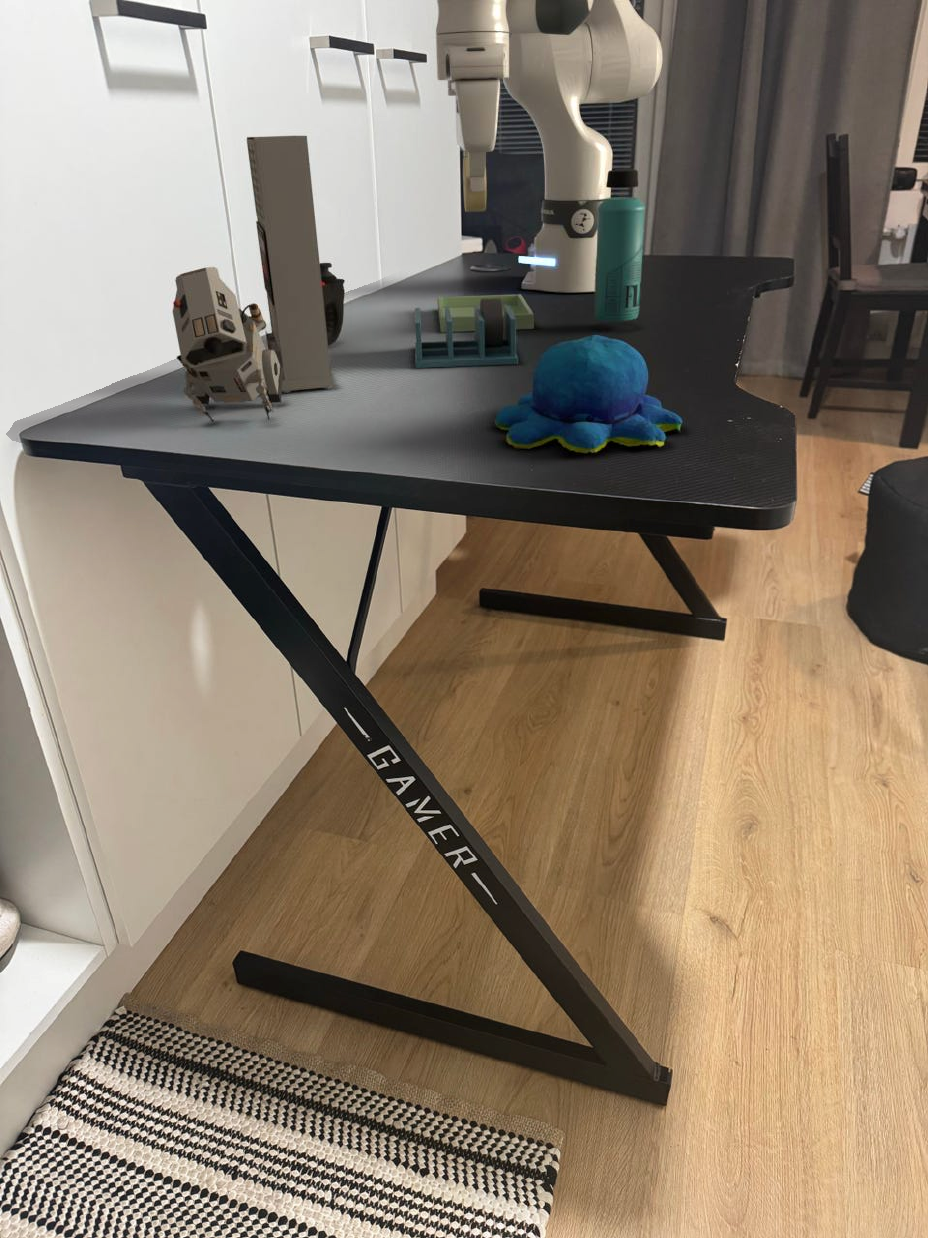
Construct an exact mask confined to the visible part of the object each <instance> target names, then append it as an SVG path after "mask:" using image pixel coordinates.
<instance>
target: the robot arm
mask: <svg viewBox="0 0 928 1238" xmlns="http://www.w3.org/2000/svg"><path fill="white" fill-rule="evenodd" d="M436 4H437V12H438V13H437V14H438V15H437V23H436V26H435V27H436V28H435V51H436V53H435V54H436V78H437V81H447V96H449V97H454V99H455V140H456V144H457V145H458V146H459V147H460V148H461V149H462V151H463V158H464V157H468V161H469V175H470V176H469V182H470V190H471V191H472V192H482V191H483V190H484V175H485V166H486V163H487V153H490V152H493V151H494V149H495V145H496V140H497V133H498V121H499V120H498V119H499V107H500V93H501V81H500V80H502V82H503V85H504V87H505V89H506V91H507V93H508V94H509V96H510V97H511V98H512V99H513V100H514V101H516V103H518V104H519V105H520V106H521V107H522V108H523V109H524V110H525V111H526V112H527V114H528V115H529V117H530V118H531V120H532V122H533V123H534V125H535V127H536V130H537V132H538V134H539V138H540V141H541V145H542V151H543V163H544V164H543V165H544V199H543V200H542V203H541V208H540V209H541V212H540V213H541V222H542V226H541V229H540V230H539V232H538V233H537V234H536V236H535V237H534V238H533V243H530V246H529V247H527V256H522V255H521V256H520V255H519V256H518V263H519V264H520V263H521V264H527V265H528V264H529V269H530V271H528V272H527V273H526V275H525V276H524V278H523V280H522V282H521V287H520V289H522V290H531V291H534V290H535V291H541V292H553V293H592V292H593V293H595V289H594V288H595V278H594V277H595V276H594V275H595V274H594V271H595V272H596V270H595V269H596V254H597V228H598V207H599V206H600V204H601V203H602V202H603V201H604V200H605V199H607V198H612V197H611V195H612V188H608V187H606V184H607V178H608V172H609V171H611V170H613V156H614V155H613V149H612V146H611V144H610V142H609V140H608V139H607V138H606V137H605V136H604V135H602V134H601V133H600V132H598V131H596V130H595V129H593V128H592V127H589V126H587V125H586V124H585V123H584V121H583V119H582V117H581V112H580V105H582V104H583V105H585V104H619V103H624V102H627V101H632V100H635V99H639V98H643V97H645V96H647V95H648V94H649V93H651V91H652V90H653V88H654V87H655V86H656V83H657V82H658V81H659V77H660V75H661V72H662V68H663V47H662V43H661V40H660V38H659V36H658V34H657V33H656V31H655V29H653V27H652V26H650V25H649V24H648V23H646V22H645V21H644V19H642V17H641V16H640V15H639V13H638V11H636V9H635V8H634V6H633V5H632V3H631V1H630V0H436Z"/></svg>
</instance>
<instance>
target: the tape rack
mask: <svg viewBox="0 0 928 1238" xmlns="http://www.w3.org/2000/svg"><path fill="white" fill-rule="evenodd" d="M474 324H475V331H474V339H471V340H469V339H468V340H454V332H453V331H452V318H451V313H450V308H449V307H445V331H446V332H445V340H444V341H422V328H421V327H422V324H421V308H420V307H415V308H414V327H415V329H414V330H415V343H414V344H415V345H414V346H415V347H414V348H415V355H414V356H415V369H430V368H431V369H432V368H453V367H480V366H481V367H482V366H483V367H484V366H504V365H518V364H519V357H518V355H517V329H516V319H515V317H514V315H513V313H512V311H511V309H510V307H509V306H508V305H504V330H503V346H502V347H484V319H483V316H482V314H481V311H480V308H479V306H474Z"/></svg>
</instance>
